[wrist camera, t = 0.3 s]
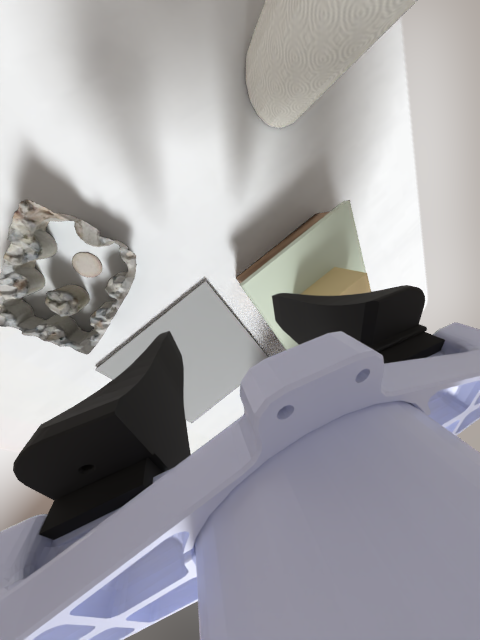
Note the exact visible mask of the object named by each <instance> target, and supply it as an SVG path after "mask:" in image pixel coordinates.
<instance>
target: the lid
mask: <svg viewBox="0 0 480 640" xmlns="http://www.w3.org/2000/svg"><path fill="white" fill-rule="evenodd" d="M240 286H241V287H242V289H243V290H244V291H245V293H246V294H247V296H248V297H249V298H250V300H251V301H252V303H253V304H254V306H255V307H256V308H257V310H258V311H259V313H260V314H261V315H262V317H263V318H264V320H265V321H266V323H267V324H268V325H269V327H270V328H271V330H272V331H273V332H274V334H275V335H276V337H277V338H278V340H279V341H280V342H281V344H282V345H283V347H284V348H285V349H286V350H288V349H290V348H293V347H295V346H298V345H299V344H298V343H296V342H295V341H294V340H293V339H292V338H291V337H290V336H289V335H288V334H286V333H285V332H284V331H283V330H282V329H281V327H280V326H279V325H278V324H277V322H276V321H275V315H274V308H273V301H272V296H273V295H276V294H278V293H292V294H303V295H317V296H339V295H352V294H361V293H368V292H371V290H370V285H369V281H368V276H367V273H366V270H365V266H364V262H363V257H362V253H361V248H360V244H359V240H358V235H357V231H356V226H355V222H354V218H353V213H352V209H351V204H350V200H348V201H343V202H342V203H340V204H339V205H338V206H337V207H335V208H334V209H333V210H332V211H330V212H329V213H328V214H327V215H325V216H324V217H323V218H322V219H320V220H319V221H318V222H317V223H315V224H314V225H313V226H312V227H310V228H309V229H308V230H307V231H305V232H304V233H303V234H302V235H300V236H299V237H298V238H297V239H295V240H294V241H293V242H292V243H290V244H289V245H288V246H287V247H285V248H284V249H283V250H282V251H280V252H279V253H278V254H277V255H275V256H274V257H273V258H272V259H270V260H269V261H268V262H267V263H265V264H264V265H263V266H262V267H260V268H259V269H258V270H257V271H255V272H254V273H253V274H252V275H250V276H249V277H248V278H247V279H245V280H244V281H243V282H242V283H240Z"/></svg>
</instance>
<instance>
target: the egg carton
mask: <svg viewBox="0 0 480 640" xmlns="http://www.w3.org/2000/svg"><path fill="white" fill-rule="evenodd" d="M65 220H66V221H74V222H75V226H74V227H75V230H76V233H77V234H78V236H79V237H80V238H81V239H82V240H83V241H84V242H85V243H87V244H89V245H91V246H96V247H102V246H108V245H111V244H113V243H116V244H118V245H119V246H120V248H119V250H120V256H121V258H122V259H123V261H124V262H125V263H126V265H127V266H128V272H121V273H119V274H117V275H115V276H114V277H112V278H111V279H110V280H109V281H108V284H107V287H106V288H105V291H106V292H107V293H108V295H109V296H110V297H113V298H115V299H116V300H117V301H108V302H106V303H104V304H103V305H102V306H101V307H100V308H99V309H98V310H96V311H95V312H94V313H93V314H92V315H91V317H90V325H92V326H93V327H95V328H94V329H93V330H91V331H90V332H86V331H83V330H81V328H80V327H79V326H78V325H77V323H76V322H75V320H74V319H73V318H71V317H70V316H71V315H74V314H75V313H77V312H79V311H80V310H81V309H82V308H84V307H85V306H86V305H87V304H88V303H89V301H90V298H89V295H88V293H87V291H86V290H85V289H83V288H82V287H80V286H77V285H72V284H70V285H66V286H63V287H61V288H58V289H56V290H54V291H49V292H47V293H46V294H47V297H46V299H45V304H46V305H47V306H48V307H49V309H50V310H51V311H53V312H55V313H57V314H58V315H54V316H52V317H50V318H49V319H47V320H45V319H42V318H39V317H36V316H35V315H34V312H33V309H32V307H31V306H30V305H29V304H28V303H26V302H24V301H22V297H24V296H26V295H29V294H31V293H34V292H36V291H39V290H41V289H42V288H43V287H44V286H45V279H44V276H43V275H42V274H41V273H40V272H39V271H38V270H37V269H35V265H36V260H38V259H45V258H49V257H52V256H54V255H55V254H56V252H57V243H56V241H55V240H54V238H53V237H52V236H51V235H50V234H49V233H47V232H46V228H47V225H48V223H49V222H50V221H56V222H62V221H65ZM8 240H9V241H11V244H10V246H9V248H8V250H7V252H6V253H5V255H4V258H3V259H4V260H5V262H4V265H3V268H2V272H1V274H0V326H2V327H6V326H10V327H14V328H17V329H19V330H21V331H22V334H23V335H28V336H36V337H39V338H41V339H42V340H43V341H48V342H52V343H54V344H56V345H58V346H60V347H61V346H69V347H72V348H73V349H74V350H76V351H79V352H81V353H84V354H89V353H90V352H91V351H92V349H93V348H94V347H95V346H96V344H97V343H98V342H99V340H100V339H101V337H102V336H103V335H104V333H105V331H106V330H107V328H108V326H109V325H110V322H111V320H112V319H113V317H114V316H115V314H116V312H117V310H118V309H119V307H120V305H121V304H122V302H123V300H124V299H125V297H126V295H127V294H128V292H129V290H130V287H131V285H132V283H133V280H134V277H135V272H136V263H135V259H136V255H135V254H134V253H133V252H131V251H129V250H128V246H127V245H125V244H123V243H121V242H120V241H118V240H111V239H109V238H106V237H101V236H100V231H99V230H98V229H96V228H95V227H93V226H92V225H90V224H88V223H87V222H85V221H83V220H80V219H78V218H76V217H74V216H72V215H66V214H61V213H57V214H56V213H54V212H52V211H51V210H49V209H48V208H46V207H43V206H41V205H39V204H37V203H35V202H33V201H31V200H25V201H21V202H20V203H19V209H18V210H17V211H16V212H15V213H14V216H13V222H12V224H11V225H10V227H9V233H8ZM72 265H73V267H74V269H75V270H76V271H77V272H78V273H79V274H80V275H82V276H85V277H92V278H93V277H96V276H98V275H99V274H100V273H101V272H102V264H101V262H100V260H99V259H98V258H97V257H96V256H95V255H93V254H91V253H87V252H86V253H85V252H80V253H77V254H75V256H74V257H73V260H72Z"/></svg>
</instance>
